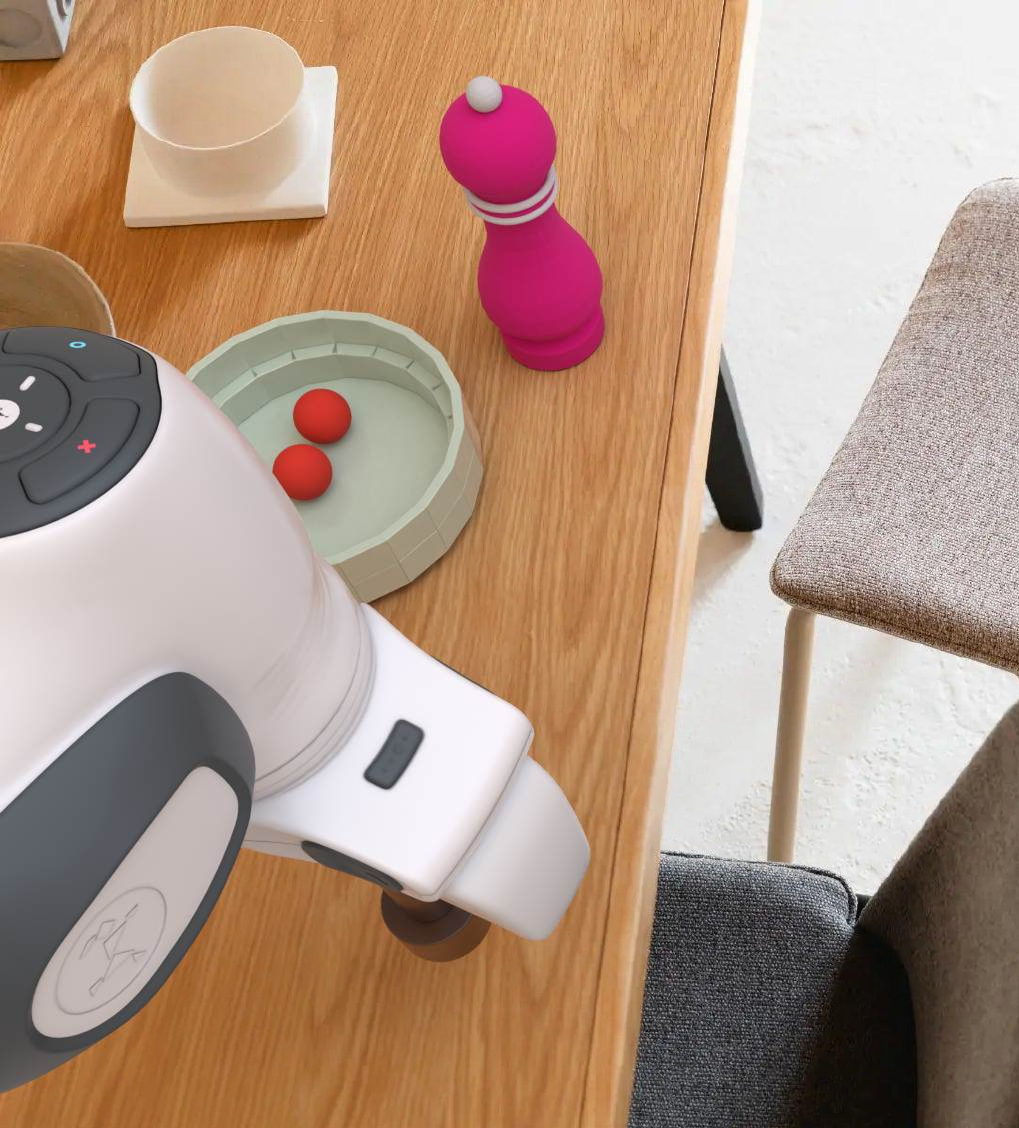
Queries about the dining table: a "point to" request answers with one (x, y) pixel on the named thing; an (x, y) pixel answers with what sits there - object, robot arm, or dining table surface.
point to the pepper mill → (523, 227)
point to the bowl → (359, 437)
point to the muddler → (432, 926)
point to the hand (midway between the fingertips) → (375, 840)
